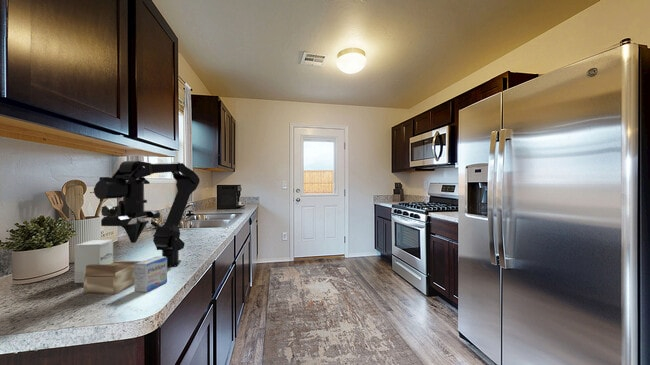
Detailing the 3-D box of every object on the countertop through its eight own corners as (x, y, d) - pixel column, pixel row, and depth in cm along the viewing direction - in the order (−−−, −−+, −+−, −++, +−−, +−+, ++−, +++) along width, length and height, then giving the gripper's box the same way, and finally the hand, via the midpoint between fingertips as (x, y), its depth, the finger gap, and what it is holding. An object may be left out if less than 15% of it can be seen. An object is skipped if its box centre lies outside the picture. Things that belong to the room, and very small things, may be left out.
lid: (114, 265, 84) (114, 256, 84) (139, 265, 84) (139, 256, 84) (85, 276, 74) (85, 265, 74) (114, 276, 74) (114, 265, 74)
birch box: (115, 279, 85) (115, 261, 85) (144, 279, 85) (144, 261, 85) (83, 293, 74) (83, 272, 74) (116, 293, 74) (116, 273, 74)
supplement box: (99, 281, 83) (99, 244, 83) (73, 283, 82) (73, 245, 82) (114, 273, 90) (114, 239, 90) (90, 275, 89) (90, 239, 89)
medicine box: (146, 292, 75) (146, 264, 75) (133, 291, 76) (133, 263, 76) (167, 282, 83) (167, 256, 83) (156, 281, 83) (156, 255, 83)
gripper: (132, 195, 95) (132, 236, 95) (83, 199, 76) (83, 249, 76) (160, 195, 95) (160, 236, 95) (119, 199, 76) (119, 250, 76)
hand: (133, 242), depth 85 cm, fingers closed
